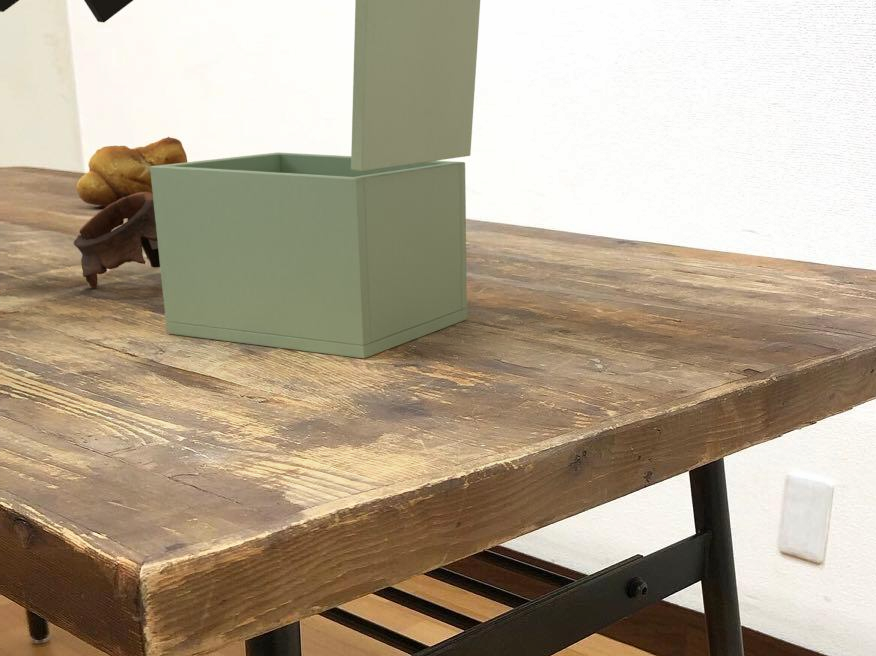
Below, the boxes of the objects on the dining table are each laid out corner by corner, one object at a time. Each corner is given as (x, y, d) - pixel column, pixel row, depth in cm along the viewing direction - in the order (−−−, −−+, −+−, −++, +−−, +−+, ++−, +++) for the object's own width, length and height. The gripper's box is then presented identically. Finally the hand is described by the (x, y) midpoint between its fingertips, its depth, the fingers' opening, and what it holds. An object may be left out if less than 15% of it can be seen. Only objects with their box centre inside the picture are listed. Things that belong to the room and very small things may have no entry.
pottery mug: (224, 300, 96) (162, 210, 91) (119, 354, 97) (52, 267, 92) (225, 239, 106) (170, 154, 101) (130, 288, 107) (70, 207, 101)
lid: (358, -146, 66) (371, -146, 66) (476, -116, 78) (488, -116, 77) (350, 169, 73) (361, 171, 72) (460, 154, 84) (470, 155, 84)
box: (166, 333, 83) (149, 166, 79) (287, 299, 94) (277, 152, 90) (364, 358, 77) (356, 178, 73) (467, 319, 88) (465, 162, 84)
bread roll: (83, 211, 143) (74, 139, 140) (72, 202, 151) (63, 134, 148) (196, 207, 148) (189, 137, 145) (179, 198, 156) (173, 132, 153)
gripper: (-45, -501, 52) (219, -26, 67) (-220, -400, 68) (24, -35, 83) (-190, -422, 50) (117, 53, 65) (-336, -337, 66) (-64, 28, 81)
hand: (65, 4), depth 74 cm, fingers open, 13 cm apart
